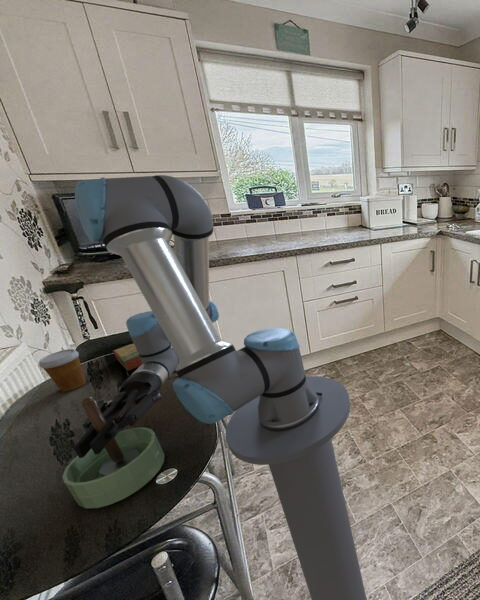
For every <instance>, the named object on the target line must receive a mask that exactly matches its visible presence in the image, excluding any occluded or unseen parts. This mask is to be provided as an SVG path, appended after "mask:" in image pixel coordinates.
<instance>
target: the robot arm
mask: <svg viewBox="0 0 480 600" xmlns="http://www.w3.org/2000/svg"><path fill="white" fill-rule="evenodd" d="M74 199H75V200H74V201H75V207H76V210H77V214H78V219H79V220H80V224H81V227H82V229H83V231H84V234H85V236H86V237H87V238H88V240H89V241H90V242H92V243H97V244H100V243H103V245H104V247H105V248H106V250H107V252H109V253H110V254H114V255H117V256H120V257H121V258H122V260H123V262H124V264H125V265H126V267H127V269H128V271H129V272H130V274H131V276H132V278H133V281H135V284H136V285H137V287H138V288H139V290H140V292H141V294H142V296H143V298H144V300H145V301H146V302H147V305H148V307H149V309H150V310H149V311H143V312H139V313H137V314H134V315H132V316H130V317H129V318H128V319H127V320H126V321H125V324H126V329H127V331H128V333H129V337H130V338H131V340H132V344H133V343H134V345H135V347H136V349H137V351H138V353H139V356H140V359H141V361H142V364H141V366H139V367H137V369H135V370H134V371H133V372H132V373H131V375H130V376H129V377H127V379H126V380H125V381H123V383H122V384H121V387H120V389H119V392H118V393H117V394H115V395H114V396H113V397H112V398H111V399H109V400H108V401H106V400H104V399H101V400H99V401H98V402H97V401H96V403H97V405H98V407H99V409H100V411H101V413H102V415H103V417H104V419H105V420H106V422H107V425H106V426H105V427H104V428H103V429H102V430H101V431H100V432H99V433H98V434H97V432H96V430H95V428H94V426H93V425H92V423H91V421H90V419H89V417H88V416H87V419H86V420H85V421H84V422H83V423H82V428H83V430H84V431H85V433H83V434H82V436H81V437H80V440H79V441H77V443H76V444H75V445H74V446H73V447H72V448H73V450H74V452H75V453H76V456H78V457H79V458H83V457H84V456H85V455H86V454H87V453H88V452H89V451H90V449H91V448H92V450H93V452H94V454H95V455H96V454H100V452H101V451H102V450H103V449H104V447H105V446H106V445H107V444H108V442H109V441H110V440H111V439H112V438H114V437H115V436H116V435H117V434H118V433H119V432H121V431H122V430H124V429H125V428H126V426H131V427H132V426H134V425H136V424H137V423H138V422H139V420H141V419H142V417H144V415H145V414H146V413H147V412H149V410H150V409H151V408H152V407H153V406H154V404H156V403H157V402H159V401H161V400H162V398H163V397H162V396H161V393H160V390H161V388H162V387H163V386H164V384H166V382H167V381H168V380H169V378H170V377H171V376H172V374H173V373H174V372H175V373H176V375H177V378H176V379H175V380H174V381H173V382H172V389H173V391H174V393H175V395H176V398H177V399H178V400H179V402H180V403H181V404H182V405H183V407H184V408H185V409H186V410H187V412H188V413H190V414H191V415H192V417H194V418H195V419H196V420H198V421H199V422H201V423H204V424H206V425H213V424H216V423H218V422H220V421H222V420H223V419H225V418H227V417H228V416H232V415H233V414H234V413H235V411H236V410H238V409H239V408H241V407H242V406H244V405H246V404H247V403H249V402H250V401H252V400H253V399H255V398H257V397H258V396H260V400H259V405H258V408H259V411H258V417H259V420H260V423H261V425H262V427H264V428H265V429H267V430H270V431H285V430H290V429H293V428H296V427H298V426H300V425H302V424H304V423H305V422H307V421H308V420H310V419H311V418H312V417H313V416H314V415H315V413H316V412H317V410H318V408H319V400H318V396H322V393H319V392H315V391H314V389H313V388H312V386H311V385H310V383H309V382H308V381H307V379H306V377H307V375H306V372H305V367H304V363H303V358H302V355H301V350H300V344H299V341H298V339H297V338H298V337H297V335H296V333H294V331H292V330H290V329H288V328H283V327H273V328H271V327H270V328H265V329H260V330H256V331H254V332H251V333H249V334H248V335H246V337H244V339H243V345H244V346H243V347H242V348H240V349H238V350H236V347H235V345H234V344H233V343H232V342H228V341H224V340H222V337H221V336H220V334H219V333H218V331H217V329H216V327H215V325H214V323H215V322H217V321H218V320H219V318H220V313H219V311H218V307H217V305H216V304H215V303H214V302H213V301H212V300H210V239H209V238H210V237H211V236H212V235H213V234H214V219H213V215H212V211H211V209H210V207H209V205H208V203H207V202H206V200H205V199H204V197H203V195H201V193H200V192H199V191H198V190H196V188H195V187H193V186H192V185H191V184H189V183H188V182H186V181H184V180H183V179H180V178H178V177H176V176H173V175H164V174H158V175H156V174H155V175H146V176H145V175H144V176H125V177H103V176H102V177H100V178H93V179H83V180H80V181H78V182H77V184H76V185H75V187H74ZM172 237H173V245H174V249H173V248H172V246H171V244H170V241H171V239H172ZM317 395H318V396H317Z"/></svg>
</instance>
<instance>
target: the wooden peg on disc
mask: <svg viewBox="0 0 480 600" xmlns="http://www.w3.org/2000/svg"><path fill="white" fill-rule="evenodd" d="M80 403H81V407H82V408H83V410H84V412H85V414H86V415H87V418H88V417H89V419H90V421H91V423H92V425H93V426H94V428H95V430H96V432H97V434H98V433H99V432H100V431H101V430H102V429H103V428H104V427H105V426H106V425H107V422H106V420H105V419H104V417H103V415H102V413H101V411H100V409H99V407H98V405H97V401H96V399H95V398H94V397H93V396H85V397H84V398H83V399H82V400H81V402H80ZM105 449H106V451H107V452H108V454H109V456H110V458H109V459H108V460H107V461H106V462H105V463H104V464H103V465H102V466H101V468H100V470H99V473H100V474H101V476H102V477H104V476H106V475H109V474H111V473H113V472H115V471H117V470H119V469H120V468H122V467H124V466H126V465H127V464H129V463H130V462H131V461H133V460H134V459H135V458H137V457H138V456H139V455H140V453H139V451H138V450H136V449H129V450H125V451H121V449H120V447H119V445H118V444H117V442H116V440H115V438H112V439H111V440H110V441H109V442H108V444H107V445H106V446H105Z"/></svg>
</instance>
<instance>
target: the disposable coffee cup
mask: <svg viewBox="0 0 480 600" xmlns="http://www.w3.org/2000/svg"><path fill="white" fill-rule="evenodd" d="M79 354H80V353H79V351H77V349H74V348H68V349H62V350H58V351H55V352H53V353H50V354H48V355H46V356H44V357H42V358H40V359H39V362H38V363H39V364H38V366H39V367H40V368H41V369H43V370H44V372H45V373H46V374H47V375H48V376H49V378H51V380H52V381H53V382H54V383H55V385H56V387H58V388H59V390H60V391H61V392H70V391H73V390H76V389H79V388H80V387H82V386H84V385H85V384H86V383H87V379H86V377H85V374H84V373H85V372H84V370H83V367H82V363H81V360H80V357H79ZM83 381H84V382H83Z"/></svg>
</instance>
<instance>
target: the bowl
mask: <svg viewBox="0 0 480 600" xmlns="http://www.w3.org/2000/svg"><path fill="white" fill-rule="evenodd" d="M114 438H115V440H116V442H117V444H118V445H119V447H120V449H121V451H125V450H129V449H136V450H138V451H139V453H140V455H139V456H138V457H137V458H135V459H134V460H133V461H131V462H130V463H129V464H127V465H126V466H124V467H122V468H120V469H119V470H117V471H115V472H113V473H111V474H109V475H106V476H104V477H102V476H101V474H100V473H99V470H100V468H101V466H102V465H103V464H104V463H105V462H106V461H107V460H108V459H109V458H110V456H109V454H108V452H107V451H106V449H105V447H104V449H103V450H102V451H101V452H100V454H96V455H95V454H94V452H93V450H92V448H91V449H90V451H89V452H88V453H87V454H86V455H85V456H84V457H83V458H79V457H78V455H76V456H75V457H74V458H73V459H72V460H71V461H70V463H68V465H66V467H65V469H64V472H63V474H62V480H63V483H64V484H65V487H66V488H67V489H68V490H69V492H70V494H71V496H72V497H73V500H74V501H75V502H76V503H77V505H78V506H79V507H80V508H83V509H86V510H87V509H88V510H89V509H100V508H104V507H107V506H110V505H113V504H115V503H117V502H120V501H123V500H125V499H126V498H128V497H130V496H132V495H133V494H134V493H136V492H138V491H139V490H141V489H142V488H143V487H144V486H146V485H147V484H148V483H149V482H150V481H151V480H153V478H154V477H155V476H156V475H157V474H158V472H159V471H160V470H161V468H162V466H163V465H164V462H165V453H164V450H163V448H162V446H161V444H160V441H159V439H158V437H157V434H156V433H155V432H154V431H153V429H152V428H148V427H145V426H143V427H132V428H128V429H122V430H120V431H119V433H118V434H117V435H116V436H115V437H114Z"/></svg>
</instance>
